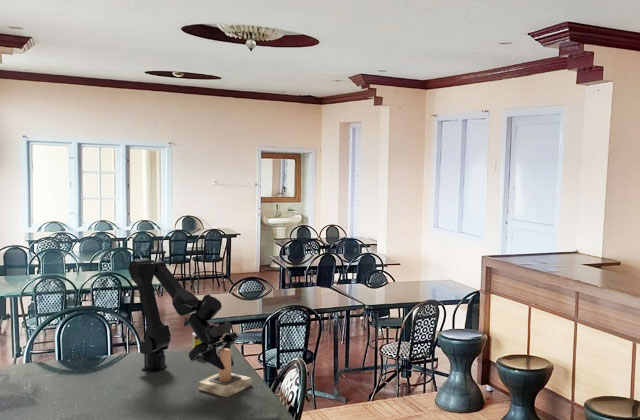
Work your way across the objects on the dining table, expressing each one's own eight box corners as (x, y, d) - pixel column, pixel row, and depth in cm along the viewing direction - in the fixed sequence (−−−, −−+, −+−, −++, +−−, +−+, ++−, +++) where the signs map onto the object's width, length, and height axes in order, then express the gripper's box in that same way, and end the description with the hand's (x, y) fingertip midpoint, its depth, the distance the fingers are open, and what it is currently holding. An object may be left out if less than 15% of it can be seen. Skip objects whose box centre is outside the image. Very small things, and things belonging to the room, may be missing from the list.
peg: (218, 388, 185) (218, 352, 184) (219, 384, 189) (219, 348, 188) (230, 388, 185) (230, 352, 184) (231, 384, 189) (231, 348, 188)
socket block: (198, 389, 185) (198, 381, 185) (223, 378, 195) (223, 370, 195) (227, 397, 179) (227, 388, 179) (251, 385, 189) (251, 376, 189)
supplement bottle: (209, 354, 221) (209, 327, 220) (196, 357, 217) (196, 330, 217) (202, 350, 225) (202, 324, 224) (189, 353, 222) (189, 327, 221)
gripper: (195, 320, 180) (222, 361, 175) (234, 308, 195) (260, 345, 190) (177, 341, 184) (203, 381, 179) (216, 327, 200) (241, 364, 195)
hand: (228, 367), depth 186 cm, fingers closed on peg, 4 cm apart
